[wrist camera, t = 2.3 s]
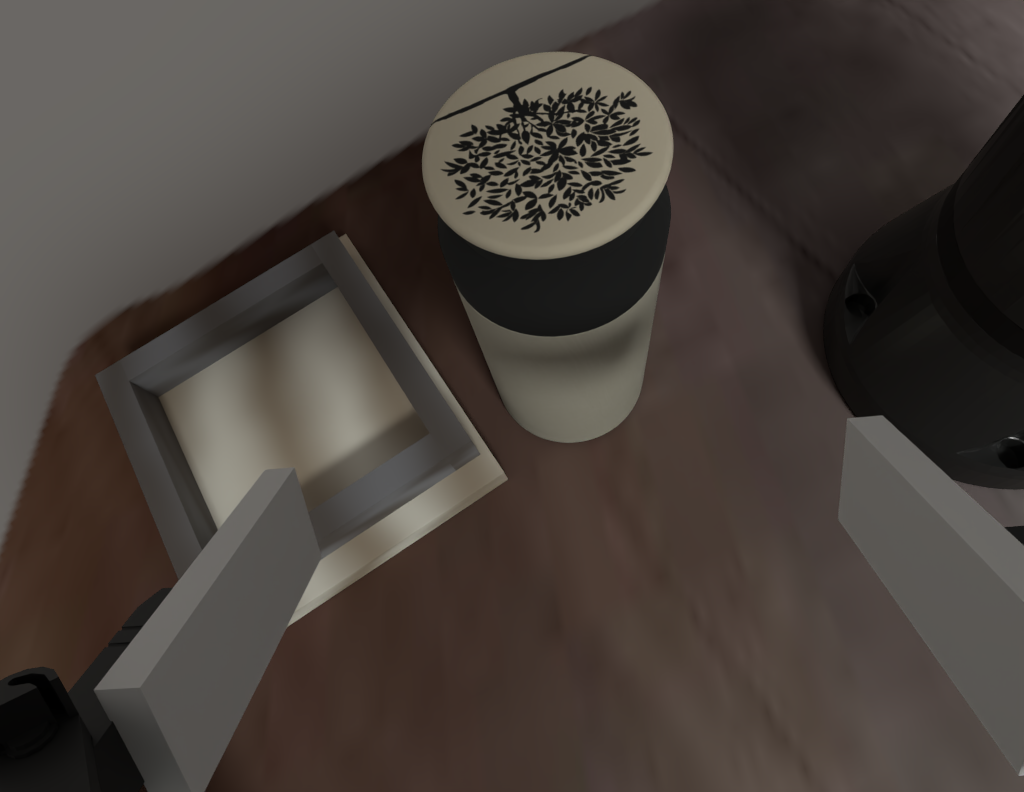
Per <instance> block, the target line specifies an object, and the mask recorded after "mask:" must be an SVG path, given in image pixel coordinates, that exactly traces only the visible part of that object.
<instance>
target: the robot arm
mask: <svg viewBox="0 0 1024 792" xmlns="http://www.w3.org/2000/svg"><path fill="white" fill-rule="evenodd" d="M824 346H825V352H826V357H827V361H828V364H829V368H830V371H831V373H832V376H833V379H834V381H835V383H836V385H837V387H838V389H839V391H840V393H841V394H842V396H843V398H844V399H845V401H846V402H847V404H848V405H849V407H850V408H851V410H852V411H853V412H854V413H855V415H856V416H857V417H858V418H847V426H846V437H845V448H844V459H843V470H842V481H841V491H840V502H839V513H838V520H839V521H840V523H841V524H842V526H843V527H844V528H845V530H846V531H847V533H848V534H849V536H850V537H851V538H852V540H853V541H854V543H855V544H856V545H857V547H858V548H859V550H860V551H861V553H862V554H863V555H864V557H865V558H866V560H867V561H868V563H869V564H870V565H871V567H872V568H873V570H874V571H875V572H876V574H877V575H878V577H879V578H880V580H881V581H882V582H883V584H884V585H885V587H886V588H887V589H888V591H889V592H890V594H891V595H892V597H893V598H894V599H895V601H896V602H897V604H898V605H899V607H900V608H901V609H902V611H903V612H904V614H905V615H906V616H907V618H908V619H909V621H910V622H911V624H912V625H913V626H914V628H915V629H916V631H917V632H918V633H919V635H920V636H921V638H922V639H923V641H924V642H925V643H926V645H927V646H928V648H929V649H930V651H931V652H932V653H933V655H934V656H935V658H936V659H937V660H938V662H939V663H940V665H941V666H942V668H943V669H944V670H945V672H946V673H947V675H948V676H949V677H950V679H951V680H952V682H953V683H954V685H955V686H956V687H957V689H958V690H959V692H960V693H961V695H962V696H963V697H964V699H965V700H966V702H967V703H968V704H969V706H970V707H971V709H972V710H973V712H974V713H975V714H976V716H977V717H978V719H979V720H980V722H981V723H982V724H983V726H984V727H985V729H986V730H987V731H988V733H989V734H990V736H991V737H992V739H993V740H994V741H995V743H996V744H997V746H998V747H999V748H1000V750H1001V751H1002V753H1003V754H1004V756H1005V757H1006V758H1007V760H1008V761H1009V763H1010V764H1011V766H1012V767H1013V768H1014V770H1015V771H1016V773H1017V774H1018V775H1019V776H1024V526H1015V527H1003V526H1002V525H1001V524H1000V523H999V522H998V521H997V520H995V519H994V518H993V517H992V516H991V515H990V514H989V513H988V512H987V511H986V510H985V509H984V508H982V507H981V506H980V505H979V504H978V503H977V502H976V501H975V500H974V499H973V498H972V497H970V496H969V495H968V494H967V493H966V492H965V491H964V490H963V489H962V488H961V487H960V486H959V485H957V484H956V483H955V482H954V481H953V480H956V481H960V482H963V483H967V484H972V485H976V486H982V487H988V488H998V489H1024V95H1023V96H1022V98H1021V99H1020V100H1019V102H1018V103H1017V104H1016V105H1015V107H1014V108H1013V109H1012V111H1011V112H1010V113H1009V114H1008V116H1007V117H1006V118H1005V120H1004V121H1003V122H1002V123H1001V125H1000V126H999V127H998V129H997V130H996V131H995V133H994V134H993V135H992V136H991V138H990V139H989V140H988V142H987V143H986V144H985V145H984V147H983V148H982V149H981V151H980V152H979V153H978V154H977V156H976V157H975V158H974V160H973V161H972V162H971V164H970V165H969V166H968V168H967V169H966V170H965V171H964V173H963V174H962V175H961V176H960V178H959V179H958V180H957V181H956V183H954V184H952V185H951V186H949V187H947V188H945V189H944V190H942V191H940V192H939V193H937V194H935V195H934V196H932V197H930V198H929V199H927V200H925V201H924V202H922V203H920V204H919V205H917V206H915V207H913V208H912V209H910V210H908V211H907V212H905V213H903V214H902V215H900V216H898V217H897V218H895V219H893V220H892V221H890V222H888V223H887V224H886V225H884V226H883V227H882V228H880V229H879V230H878V231H877V232H876V233H874V234H873V235H872V236H871V237H870V238H869V239H868V240H867V241H866V242H865V243H864V244H863V245H862V246H861V247H860V248H859V250H858V251H857V252H856V253H855V255H854V256H853V258H852V259H851V261H850V262H849V264H848V265H847V267H846V268H845V270H844V271H843V273H842V274H841V276H840V277H839V279H838V280H837V282H836V284H835V286H834V288H833V290H832V292H831V294H830V297H829V300H828V303H827V307H826V311H825V318H824ZM952 479H953V480H952ZM321 558H322V556H321V553H320V550H319V546H318V543H317V540H316V536H315V533H314V530H313V527H312V523H311V520H310V517H309V513H308V510H307V507H306V503H305V500H304V497H303V494H302V490H301V487H300V484H299V480H298V477H297V474H296V470H295V467H291V468H279V469H268V470H264V472H263V473H262V474H261V476H260V477H259V478H258V479H257V481H256V482H255V483H254V485H253V486H252V487H251V488H250V490H249V491H248V492H247V494H246V495H245V496H244V497H243V499H242V500H241V501H240V503H239V504H238V505H237V506H236V508H235V509H234V510H233V512H232V513H231V514H230V515H229V517H228V518H227V519H226V521H225V522H224V523H223V524H222V526H221V527H220V528H219V530H218V531H217V532H216V533H215V535H214V536H213V537H212V539H211V540H210V541H209V542H208V544H207V545H206V546H205V548H204V549H203V550H202V551H201V553H200V554H199V555H198V557H197V558H196V559H195V560H194V562H193V563H192V564H191V566H190V567H189V568H188V569H187V571H186V572H185V573H184V575H183V576H182V577H181V578H180V580H179V581H178V582H177V584H176V585H175V586H174V587H173V588H163V589H161V590H159V591H158V592H157V593H156V594H154V595H153V596H152V597H150V598H149V599H148V600H146V601H145V602H144V603H143V604H141V605H140V606H139V607H138V608H137V609H136V610H135V611H134V613H133V614H132V615H131V616H130V618H129V619H128V620H127V621H126V622H125V624H124V625H123V626H122V630H121V631H118V632H117V633H116V635H115V636H114V637H113V638H112V640H111V641H110V642H109V643H108V644H109V646H108V647H106V648H104V649H103V651H102V652H101V653H100V654H99V655H98V657H97V658H96V659H95V660H94V662H93V663H92V664H91V665H90V666H89V668H88V669H87V670H86V671H85V673H84V674H83V675H82V676H81V678H80V679H79V680H78V681H77V682H76V684H75V685H74V686H73V687H72V689H71V690H70V691H69V692H68V693H67V691H66V689H65V688H64V686H63V684H62V682H61V680H60V679H59V677H58V675H57V674H56V672H55V671H54V669H50V668H45V667H39V668H32V669H26V670H23V671H21V672H18V673H15V674H13V675H10V676H8V677H6V678H4V679H2V680H1V681H0V792H139V790H140V789H141V787H142V785H143V784H144V786H145V787H146V789H147V791H148V792H204V791H205V789H206V787H207V785H208V783H209V781H210V779H211V777H212V775H213V773H214V771H215V770H216V768H217V766H218V764H219V762H220V760H221V758H222V756H223V754H224V752H225V750H226V748H227V746H228V744H229V742H230V740H231V738H232V736H233V734H234V732H235V730H236V728H237V726H238V724H239V722H240V720H241V718H242V716H243V714H244V712H245V710H246V708H247V706H248V704H249V702H250V700H251V698H252V696H253V694H254V692H255V690H256V688H257V686H258V684H259V682H260V680H261V678H262V676H263V674H264V672H265V670H266V668H267V666H268V664H269V662H270V660H271V658H272V656H273V654H274V652H275V650H276V648H277V646H278V644H279V642H280V640H281V638H282V636H283V634H284V632H285V630H286V628H287V626H288V624H289V622H290V620H291V618H292V616H293V614H294V612H295V610H296V608H297V606H298V604H299V602H300V600H301V598H302V596H303V594H304V592H305V590H306V588H307V586H308V584H309V582H310V580H311V578H312V576H313V574H314V572H315V570H316V568H317V566H318V564H319V562H320V560H321Z"/></svg>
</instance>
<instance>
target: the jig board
mask: <svg viewBox="0 0 1024 792" xmlns="http://www.w3.org/2000/svg"><path fill="white" fill-rule="evenodd" d="M95 376H96V378H97V381H98V383H99V386H100V388H101V391H102V393H103V396H104V398H105V400H106V403H107V405H108V408H109V410H110V413H111V415H112V418H113V420H114V422H115V425H116V427H117V430H118V432H119V435H120V437H121V440H122V442H123V445H124V447H125V449H126V452H127V454H128V457H129V459H130V462H131V464H132V467H133V469H134V471H135V474H136V476H137V479H138V481H139V484H140V486H141V489H142V491H143V494H144V496H145V498H146V501H147V503H148V506H149V508H150V511H151V513H152V516H153V518H154V520H155V523H156V525H157V528H158V530H159V533H160V535H161V538H162V540H163V543H164V545H165V547H166V550H167V552H168V555H169V557H170V560H171V562H172V565H173V567H174V569H175V572H176V574H177V577H178V579H179V580H180V578H181V577H182V576H183V575H184V573H185V572H186V571H187V569H188V568H189V567H190V566H191V564H192V563H193V562H194V560H195V559H196V558H197V557H198V555H199V554H200V553H201V551H202V550H203V549H204V548H205V546H206V545H207V544H208V542H209V541H210V540H211V539H212V537H213V536H214V535H215V533H216V532H217V531H218V530H219V528H220V527H221V526H222V524H223V523H224V522H225V521H226V519H227V518H228V517H229V515H230V514H231V513H232V512H233V510H234V509H235V508H236V506H237V505H238V504H239V503H240V501H241V500H242V499H243V497H244V496H245V495H246V494H247V492H248V491H249V490H250V488H251V487H252V486H253V485H254V483H255V482H256V481H257V479H258V478H259V477H260V476H261V474H262V473H263V472H264V470H268V469H279V468H291V467H295V470H296V474H297V477H298V480H299V484H300V487H301V490H302V494H303V497H304V500H305V503H306V507H307V510H308V513H309V517H310V520H311V523H312V527H313V530H314V533H315V536H316V540H317V543H318V546H319V550H320V553H321V556H322V558H321V560H320V562H319V564H318V566H317V568H316V570H315V572H314V574H313V576H312V578H311V580H310V582H309V584H308V586H307V588H306V590H305V592H304V594H303V596H302V598H301V600H300V602H299V604H298V606H297V608H296V610H295V612H294V614H293V616H292V618H291V620H290V622H289V624H288V626H289V625H291V624H292V623H294V622H295V621H297V620H298V619H300V618H301V617H303V616H304V615H306V614H307V613H309V612H310V611H312V610H313V609H315V608H316V607H318V606H319V605H321V604H322V603H324V602H325V601H327V600H328V599H330V598H331V597H333V596H334V595H336V594H337V593H339V592H340V591H342V590H343V589H345V588H346V587H348V586H349V585H351V584H352V583H354V582H355V581H357V580H358V579H360V578H361V577H363V576H364V575H366V574H367V573H369V572H370V571H372V570H373V569H375V568H376V567H378V566H379V565H381V564H382V563H384V562H385V561H387V560H388V559H390V558H391V557H393V556H394V555H396V554H397V553H399V552H400V551H402V550H403V549H405V548H406V547H408V546H409V545H411V544H412V543H414V542H415V541H417V540H418V539H420V538H421V537H423V536H424V535H426V534H427V533H429V532H430V531H432V530H433V529H435V528H436V527H438V526H439V525H441V524H442V523H444V522H445V521H447V520H448V519H450V518H451V517H453V516H454V515H456V514H457V513H459V512H460V511H462V510H463V509H465V508H466V507H468V506H469V505H471V504H472V503H474V502H475V501H477V500H478V499H479V498H481V497H482V496H484V495H485V494H487V493H488V492H490V491H491V490H493V489H494V488H496V487H497V486H499V485H500V484H502V483H503V482H505V481H506V480H508V478H507V477H506V475H505V473H504V471H503V470H502V468H501V467H500V465H499V464H498V462H497V461H496V459H495V458H494V456H493V455H492V453H491V452H490V450H489V449H488V447H487V446H486V444H485V443H484V441H483V440H482V438H481V437H480V435H479V434H478V432H477V431H476V429H475V428H474V426H473V425H472V423H471V422H470V420H469V419H468V417H467V416H466V414H465V413H464V411H463V410H462V408H461V407H460V405H459V404H458V402H457V401H456V399H455V398H454V396H453V395H452V393H451V392H450V390H449V389H448V387H447V386H446V384H445V383H444V381H443V380H442V378H441V377H440V375H439V374H438V372H437V371H436V369H435V368H434V366H433V364H432V363H431V361H430V360H429V358H428V357H427V355H426V354H425V352H424V351H423V349H422V348H421V346H420V345H419V343H418V342H417V340H416V339H415V337H414V336H413V334H412V333H411V331H410V330H409V328H408V327H407V325H406V324H405V322H404V321H403V319H402V318H401V316H400V315H399V313H398V312H397V310H396V309H395V307H394V306H393V304H392V303H391V301H390V300H389V298H388V297H387V295H386V294H385V292H384V291H383V289H382V288H381V286H380V285H379V283H378V282H377V280H376V279H375V277H374V276H373V274H372V273H371V271H370V270H369V268H368V267H367V265H366V264H365V262H364V261H363V259H362V258H361V256H360V254H359V253H358V251H357V250H356V248H355V247H354V245H353V244H352V242H351V241H350V239H349V238H348V236H347V235H346V234H345V235H343V236H341V237H340V238H338V236H337V234H336V233H335V231H332V232H331V233H329V234H327V235H326V236H324V237H322V238H321V239H319V240H317V241H316V242H314V243H312V244H311V245H309V246H307V247H306V248H304V249H302V250H301V251H299V252H298V253H296V254H294V255H293V256H291V257H289V258H288V259H286V260H284V261H283V262H281V263H279V264H278V265H276V266H274V267H273V268H271V269H269V270H268V271H266V272H265V273H263V274H261V275H260V276H258V277H256V278H255V279H253V280H251V281H250V282H248V283H246V284H245V285H243V286H241V287H240V288H238V289H236V290H235V291H233V292H231V293H230V294H228V295H227V296H225V297H223V298H222V299H220V300H218V301H217V302H215V303H213V304H212V305H210V306H208V307H207V308H205V309H203V310H202V311H200V312H198V313H197V314H195V315H194V316H192V317H190V318H189V319H187V320H185V321H184V322H182V323H180V324H179V325H177V326H175V327H174V328H172V329H170V330H169V331H167V332H165V333H164V334H162V335H161V336H159V337H157V338H156V339H154V340H152V341H151V342H149V343H147V344H146V345H144V346H142V347H141V348H139V349H137V350H136V351H134V352H132V353H131V354H129V355H128V356H126V357H124V358H123V359H121V360H119V361H118V362H116V363H114V364H113V365H111V366H109V367H108V368H106V369H104V370H103V371H101V372H99V373H98V374H96V375H95ZM288 626H287V627H288Z"/></svg>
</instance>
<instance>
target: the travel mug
mask: <svg viewBox="0 0 1024 792" xmlns="http://www.w3.org/2000/svg"><path fill="white" fill-rule="evenodd" d="M672 159H673V134H672V129H671V125H670V122H669V119H668V116H667V113H666V111H665V109H664V107H663V105H662V104H661V102H660V100H659V99H658V97H657V96H656V95H655V94H654V92H653V91H652V90H651V89H650V88H649V87H648V86H647V85H646V84H645V83H644V82H643V81H642V80H641V79H640V78H638V77H637V76H636V75H634V74H633V73H631V72H630V71H628V70H627V69H625V68H623V67H621V66H619V65H617V64H615V63H613V62H610V61H608V60H605V59H602V58H599V57H595V56H591V55H587V54H580V53H572V52H545V53H536V54H530V55H525V56H521V57H517V58H514V59H510V60H507V61H505V62H502V63H500V64H497V65H495V66H493V67H491V68H489V69H487V70H485V71H483V72H482V73H479V74H478V75H476V76H475V77H473V78H472V79H470V80H469V81H467V83H465V84H464V85H463V86H461V87H460V88H459V89H458V90H457V91H456V92H455V93H454V94H453V95H452V96H451V97H450V98H449V99H448V100H447V101H446V102H445V104H444V105H443V106H442V108H441V109H440V110H439V112H438V114H437V115H436V117H435V118H434V120H433V122H432V124H431V126H430V129H429V131H428V134H427V137H426V140H425V144H424V148H423V156H422V173H423V180H424V184H425V188H426V191H427V194H428V196H429V199H430V201H431V203H432V205H433V207H434V208H435V210H436V211H437V213H438V214H439V215H438V237H439V242H440V246H441V249H442V252H443V255H444V258H445V260H446V263H447V265H448V268H449V270H450V273H451V275H452V278H453V280H454V283H455V285H456V288H457V290H458V293H459V295H460V297H461V300H462V302H463V305H464V307H465V310H466V312H467V315H468V317H469V320H470V322H471V325H472V327H473V330H474V332H475V335H476V337H477V340H478V342H479V345H480V347H481V350H482V352H483V354H484V357H485V359H486V362H487V364H488V367H489V369H490V372H491V374H492V377H493V379H494V382H495V384H496V387H497V389H498V392H499V394H500V397H501V399H502V401H503V404H504V406H505V407H506V409H507V411H508V412H509V414H510V415H511V416H512V417H513V419H514V420H515V421H516V422H517V423H518V424H520V425H521V426H522V427H523V428H525V429H526V430H527V431H529V432H531V433H532V434H534V435H536V436H539V437H541V438H544V439H547V440H551V441H556V442H566V443H571V442H582V441H587V440H591V439H594V438H597V437H599V436H601V435H604V434H605V433H607V432H609V431H611V430H612V429H614V428H615V427H616V426H618V425H619V424H620V423H621V422H622V421H623V420H624V419H625V418H626V417H627V416H628V415H629V413H630V412H631V411H632V409H633V407H634V406H635V404H636V402H637V400H638V398H639V395H640V392H641V388H642V383H643V377H644V371H645V365H646V360H647V354H648V348H649V342H650V337H651V331H652V325H653V319H654V314H655V308H656V302H657V296H658V290H659V285H660V279H661V273H662V267H663V262H664V256H665V250H666V244H667V238H668V233H669V227H670V219H671V205H670V197H669V193H668V189H667V186H666V181H667V179H668V176H669V173H670V169H671V165H672Z"/></svg>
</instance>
